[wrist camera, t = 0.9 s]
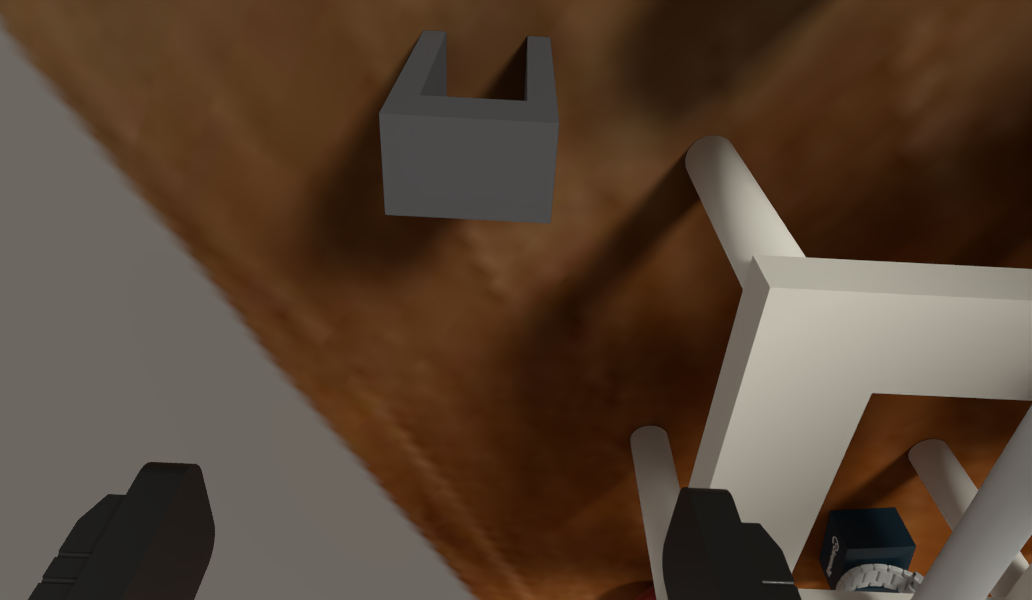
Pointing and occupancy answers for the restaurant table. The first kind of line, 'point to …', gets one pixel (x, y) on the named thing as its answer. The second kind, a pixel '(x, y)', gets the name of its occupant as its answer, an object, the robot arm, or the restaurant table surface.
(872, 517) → the watch
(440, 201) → the grey u-shaped bracket
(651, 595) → the onion
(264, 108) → the restaurant table surface
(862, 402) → the square frame stand
